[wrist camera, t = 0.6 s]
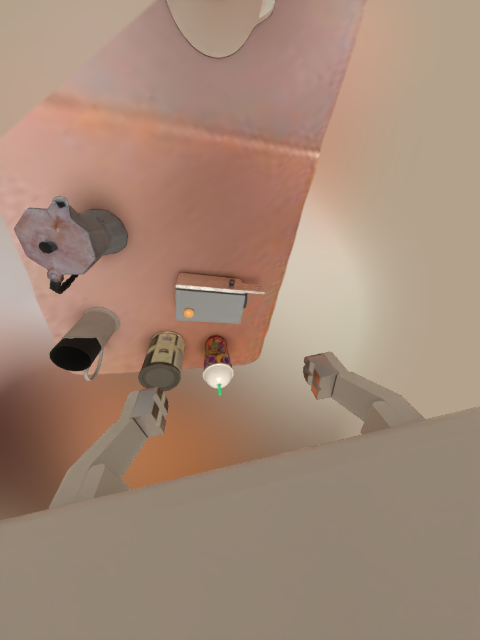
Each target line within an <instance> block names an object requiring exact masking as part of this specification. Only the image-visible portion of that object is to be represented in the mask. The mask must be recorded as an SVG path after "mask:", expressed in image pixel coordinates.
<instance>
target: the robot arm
mask: <svg viewBox="0 0 480 640" xmlns="http://www.w3.org/2000/svg"><path fill="white" fill-rule="evenodd" d="M166 1H167V4H168V7H169V9H170V12H171V14H172V16H173V18H174V20H175V22H176V24H177V26H178V28H179V29H180V31H181V32H182V34H183V35H184V37H185V38H186V39H187V40H188V41H189V43H190V44H191V45H192V46H193V47H195V48H196V49H197V50H198V51H200V52H201V53H203V54H205V55H208V56H211V57H216V58H221V57H226V56H229V55H231V54H233V53H235V52H236V51H237V50H238V49H240V48H241V46H242V45H243V44H244V43H245V42H246V40H247V39H248V37H249V35H250V34H251V32H252V30H253V29H254V27H255V26H256V25H257V24H259V23H261V22H262V21H264V20H265V19H267V18H268V17H269V16H270V15H271V13H272V11H273V8H274V4H275V0H166ZM304 363H305V366H304V367H303V374H304V378H305V380H306V382H307V383H308V384H309V385H311V391H312V392H313V394H314V396H315V398H316V399H317V400H319V399H324V398H330V397H332V399H334V400H335V401H337V402H338V403H339V404H341V405H342V406H344V407H345V408H346V409H348V410H349V411H350V412H352V413H353V414H354V415H356V416H357V417H359V418H360V419H361V420H363V421H364V424H363V427H362V429H361V434H362V435H358V436H354V437H350V438H346V439H341V440H337V441H333V442H328V443H324V444H320V445H316V446H312V447H307V448H303V449H299V450H295V451H291V452H287V453H282V454H278V455H274V456H270V457H265V458H261V459H257V460H253V461H249V462H245V463H240V464H236V465H232V466H228V467H223V468H219V469H215V470H211V471H207V472H203V473H198V474H194V475H190V476H186V477H182V478H177V479H173V480H169V481H165V482H161V483H157V484H152V485H148V486H145V487H140V488H136V489H132V490H129V488H130V487H129V485H128V484H127V483H126V482H124V481H123V480H122V479H121V478H122V477H123V475H124V474H125V472H126V471H127V469H128V467H129V466H130V465H131V463H132V462H133V460H134V459H135V457H136V456H137V454H138V452H139V451H140V450H141V448H142V447H143V445H144V443H145V442H146V441H147V439H148V437H152V436H156V435H161V434H164V431H165V426H166V420H165V418H164V417H165V416H166V415H167V413H168V399H167V397H166V396H165V395H164V394H163V389H162V387H154V388H148V389H143V390H138V391H132V392H131V393H130V394H129V395H128V398H127V400H126V403H125V405H124V408H123V411H122V413H121V415H120V418H119V421H117V422H115V423H114V424H113V425H112V426H111V427H110V428H109V429H108V430H107V431H106V432H105V433H104V434H103V435H102V436H101V437H100V438H99V439H98V440H97V441H96V442H95V443H94V444H93V445H92V446H91V447H90V448H89V449H88V450H87V451H86V452H85V453H84V454H83V455H82V456H81V457H80V458H79V460H77V461H76V462H75V464H74V465H73V466H72V467H71V468H70V469H69V470H68V471H67V473H66V475H65V477H64V479H63V481H62V483H61V485H60V487H59V489H58V491H57V492H56V494H55V496H54V498H53V500H52V503H51V504H50V506H49V508H48V510H44V511H39V512H35V513H31V514H27V515H23V516H18V517H14V518H10V519H6V520H1V521H0V640H480V406H479V407H475V408H471V409H467V410H462V411H459V412H454V413H450V414H445V415H442V416H437V417H433V418H429V419H425V418H424V417H423V416H422V415H421V414H420V413H419V412H418V411H417V410H416V409H415V408H414V407H413V406H411V404H410V403H408V401H406V400H405V399H404V398H403V397H402V396H401V395H399V394H397V393H395V392H393V391H391V390H389V389H387V388H385V387H382V386H381V385H378V384H376V383H374V382H372V381H370V380H367V379H366V378H364V377H362V376H360V375H357V374H355V373H353V372H349V371H347V369H346V368H345V367H344V366H343V364H342V363H341V362H340V361H339V360H338V359H337V357H335V355H334V354H333V353H332V352H326V353H322V354H316V355H311V356H307V357H305V358H304Z"/></svg>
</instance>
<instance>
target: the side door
mask: <svg viewBox="0 0 480 640" xmlns="http://www.w3.org/2000/svg"><path fill="white" fill-rule="evenodd" d="M176 288H183V289H194V290H206V291H218V292H229V293H241V294H245V293H255V294H265V291H264V290H263V288H262V287H261V285H255V284H244V283H242V281H241V279H238V278H228V277H218V276H209V275H199V274H189V273H179V276H178V279H177V282H176Z"/></svg>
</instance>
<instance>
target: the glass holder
mask: <svg viewBox="0 0 480 640" xmlns="http://www.w3.org/2000/svg"><path fill="white" fill-rule="evenodd" d="M119 326H120V321H119V318H118V317H117V316H116V314H115V313H113V312H112V311H110V310H108V309H106V308H102V307H93V308H90V309H88V310H87V311H86V312H85V313H84V316H83V318H82V319H81V320H80V321H79V322H78V323H77V324H76V325H75V326H74V327H73V328H72V329H71V330H70V331H69V332H68V333H67V334H66V335H65V336H64V337H63V338H62V340H61V341H60V342H59V343H58V344H57V345H56V346H55V347H54V348H53V349H52V351H51V352H50V359H51V360H52V362H53V363H54V364H56V365H57V366H59V367H60V368H63V369H65V370H69V371H82V370H85V371H84V377H85V379H86V380H87V381H91V380H93V379H94V378H95V377H96V375H97V373H98V371H99V369H100V366H101V362H102V357H103V348H104V346H105V345H106V343H107V342H108V340H109V338H110V337H111V335H112V334H113V332H115V331H116V330H117V329H118V328H119ZM99 353H100V355H99V361H98V365H97V368H96V371H95V373H94V375H93V376H92V378H91V379H89V377H88V369H89V367H90V366H91V364H92V363H93V361H94V360H95V358H96V357H97V355H98V354H99Z"/></svg>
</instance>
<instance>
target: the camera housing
mask: <svg viewBox="0 0 480 640" xmlns="http://www.w3.org/2000/svg"><path fill="white" fill-rule="evenodd" d="M246 304H247V293H245V294H241V293H229V292H218V291H206V290H194V289H183V288H176V320H179V321H199V322H219V323H239V324H240V321H241V316H242V311H243V308H245V307H246Z"/></svg>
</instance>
